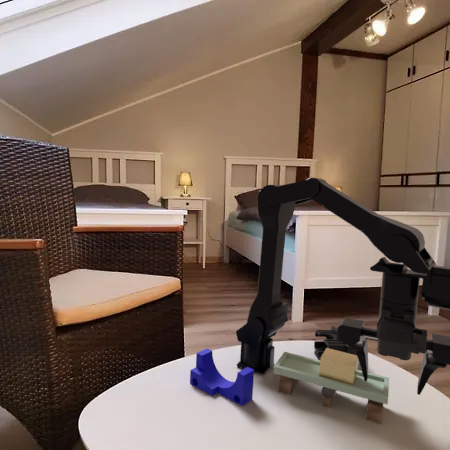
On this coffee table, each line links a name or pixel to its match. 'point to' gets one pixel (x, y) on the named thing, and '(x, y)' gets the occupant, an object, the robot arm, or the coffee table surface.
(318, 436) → the coffee table surface
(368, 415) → the beam stand
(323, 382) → the green rimmed tray
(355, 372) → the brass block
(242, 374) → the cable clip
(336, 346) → the end cap
